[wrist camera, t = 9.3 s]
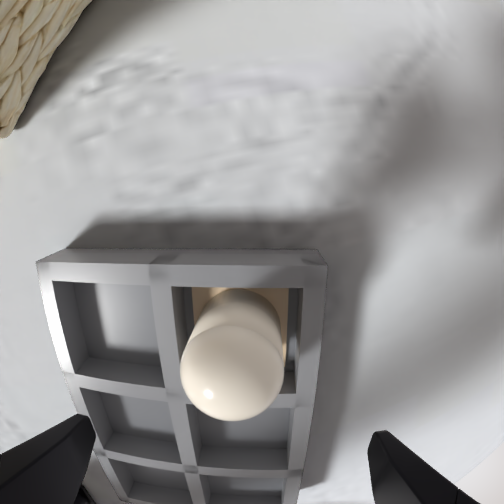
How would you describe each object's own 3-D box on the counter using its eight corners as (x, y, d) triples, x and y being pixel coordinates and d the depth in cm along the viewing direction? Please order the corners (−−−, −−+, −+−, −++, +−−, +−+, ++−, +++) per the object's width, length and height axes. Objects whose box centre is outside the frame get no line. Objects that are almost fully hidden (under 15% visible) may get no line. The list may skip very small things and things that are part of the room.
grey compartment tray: (291, 492, 21) (293, 518, 18) (129, 477, 22) (120, 500, 19) (316, 249, 16) (327, 265, 13) (64, 248, 17) (35, 261, 14)
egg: (279, 361, 17) (283, 442, 11) (202, 359, 17) (176, 437, 11) (281, 289, 16) (290, 356, 10) (196, 288, 16) (160, 351, 10)
